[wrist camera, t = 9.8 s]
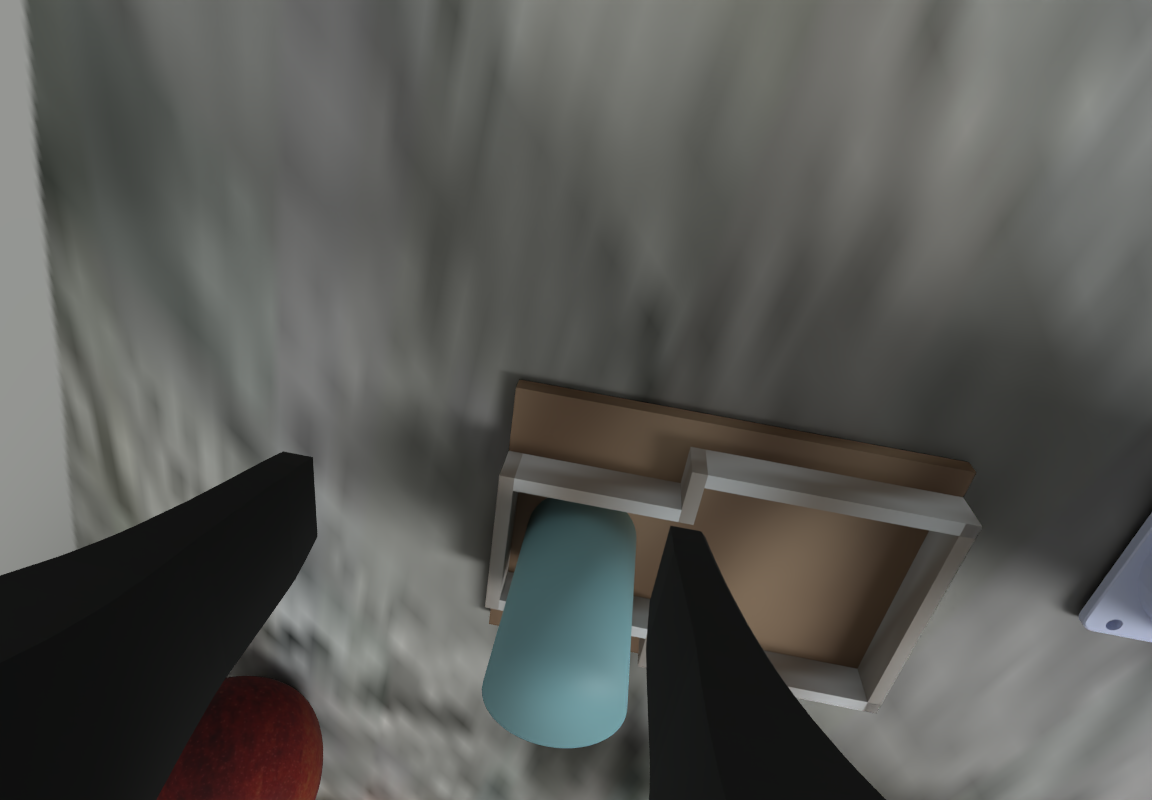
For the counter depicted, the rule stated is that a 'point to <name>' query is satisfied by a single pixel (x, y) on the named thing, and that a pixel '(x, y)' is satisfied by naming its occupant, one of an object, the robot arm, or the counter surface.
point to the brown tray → (754, 526)
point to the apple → (251, 746)
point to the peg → (566, 628)
